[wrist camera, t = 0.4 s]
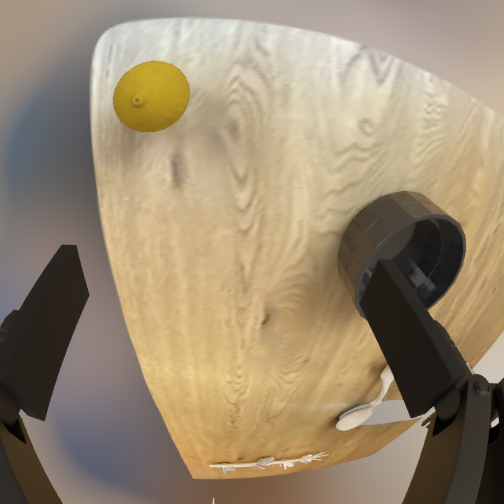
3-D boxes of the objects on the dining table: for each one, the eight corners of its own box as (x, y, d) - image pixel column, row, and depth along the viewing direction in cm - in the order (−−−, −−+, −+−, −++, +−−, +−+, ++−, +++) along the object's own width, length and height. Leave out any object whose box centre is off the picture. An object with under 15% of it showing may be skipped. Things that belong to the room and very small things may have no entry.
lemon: (121, 100, 21) (81, 111, 14) (161, 52, 19) (135, 41, 12) (166, 135, 23) (143, 159, 17) (208, 89, 21) (201, 91, 15)
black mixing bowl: (353, 182, 27) (380, 207, 22) (452, 197, 29) (482, 220, 24) (324, 295, 36) (338, 330, 31) (415, 290, 37) (434, 318, 32)
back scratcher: (420, 345, 47) (428, 359, 44) (359, 419, 64) (362, 430, 61) (385, 351, 45) (392, 366, 42) (329, 425, 62) (332, 436, 60)
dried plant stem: (210, 465, 78) (323, 455, 82) (212, 511, 61) (335, 497, 64) (207, 452, 73) (331, 441, 77) (208, 503, 56) (345, 487, 60)
